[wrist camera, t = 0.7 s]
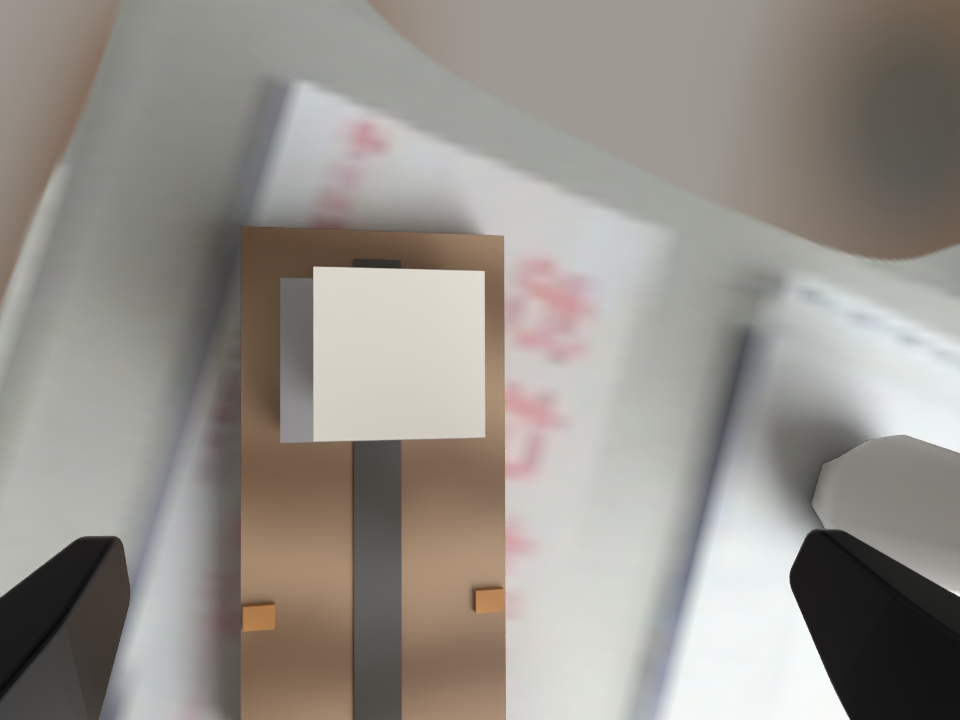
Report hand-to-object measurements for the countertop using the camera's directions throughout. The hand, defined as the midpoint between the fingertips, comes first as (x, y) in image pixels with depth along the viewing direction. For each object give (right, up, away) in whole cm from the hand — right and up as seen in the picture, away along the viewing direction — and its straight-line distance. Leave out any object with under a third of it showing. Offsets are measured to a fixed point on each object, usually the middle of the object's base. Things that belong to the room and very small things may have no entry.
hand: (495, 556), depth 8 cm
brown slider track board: (-4, -2, +16) cm, 17 cm away
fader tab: (-4, +2, +14) cm, 14 cm away
